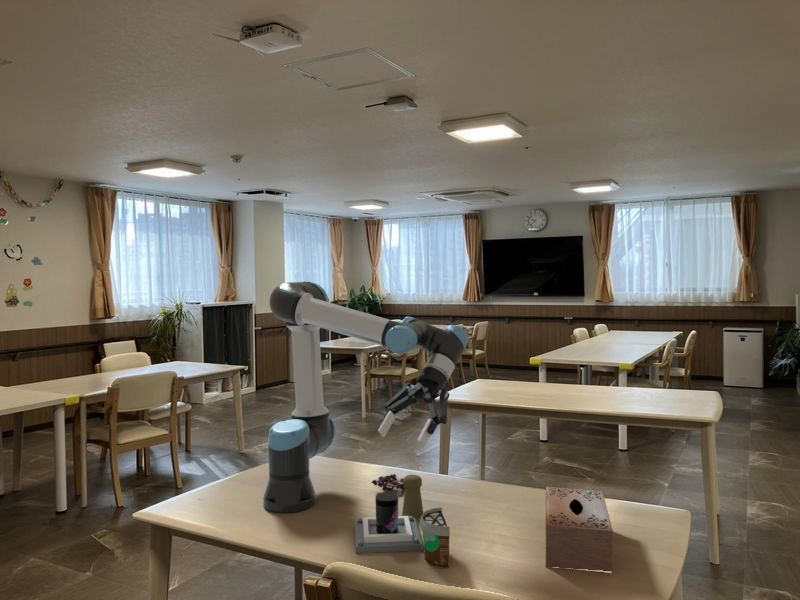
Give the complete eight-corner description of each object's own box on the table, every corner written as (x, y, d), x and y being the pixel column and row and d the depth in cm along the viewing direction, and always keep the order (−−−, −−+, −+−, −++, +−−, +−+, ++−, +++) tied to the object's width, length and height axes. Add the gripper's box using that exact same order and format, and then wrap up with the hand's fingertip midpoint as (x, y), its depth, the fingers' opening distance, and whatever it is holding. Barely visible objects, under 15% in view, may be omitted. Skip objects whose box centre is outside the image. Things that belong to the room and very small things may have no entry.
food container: (416, 547, 150) (416, 507, 149) (441, 546, 150) (441, 506, 150) (422, 572, 138) (422, 528, 137) (450, 570, 138) (449, 527, 138)
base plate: (355, 525, 163) (355, 514, 163) (415, 523, 164) (414, 512, 164) (355, 553, 147) (355, 540, 147) (421, 550, 148) (421, 538, 148)
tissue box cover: (612, 575, 136) (612, 531, 136) (545, 568, 140) (546, 525, 139) (601, 528, 161) (602, 490, 161) (545, 523, 165) (545, 486, 164)
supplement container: (382, 538, 152) (382, 502, 151) (371, 530, 157) (371, 495, 156) (403, 533, 155) (402, 498, 154) (391, 525, 160) (391, 491, 159)
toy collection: (365, 492, 185) (367, 477, 185) (383, 480, 199) (385, 466, 199) (411, 505, 180) (413, 489, 180) (426, 492, 193) (428, 478, 193)
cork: (421, 519, 167) (421, 480, 166) (399, 518, 168) (399, 478, 167) (425, 511, 173) (425, 473, 172) (404, 509, 174) (403, 471, 173)
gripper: (479, 387, 163) (444, 455, 153) (407, 376, 180) (372, 437, 169) (467, 370, 159) (432, 439, 149) (395, 360, 175) (358, 422, 165)
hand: (400, 438), depth 159 cm, fingers open, 13 cm apart
